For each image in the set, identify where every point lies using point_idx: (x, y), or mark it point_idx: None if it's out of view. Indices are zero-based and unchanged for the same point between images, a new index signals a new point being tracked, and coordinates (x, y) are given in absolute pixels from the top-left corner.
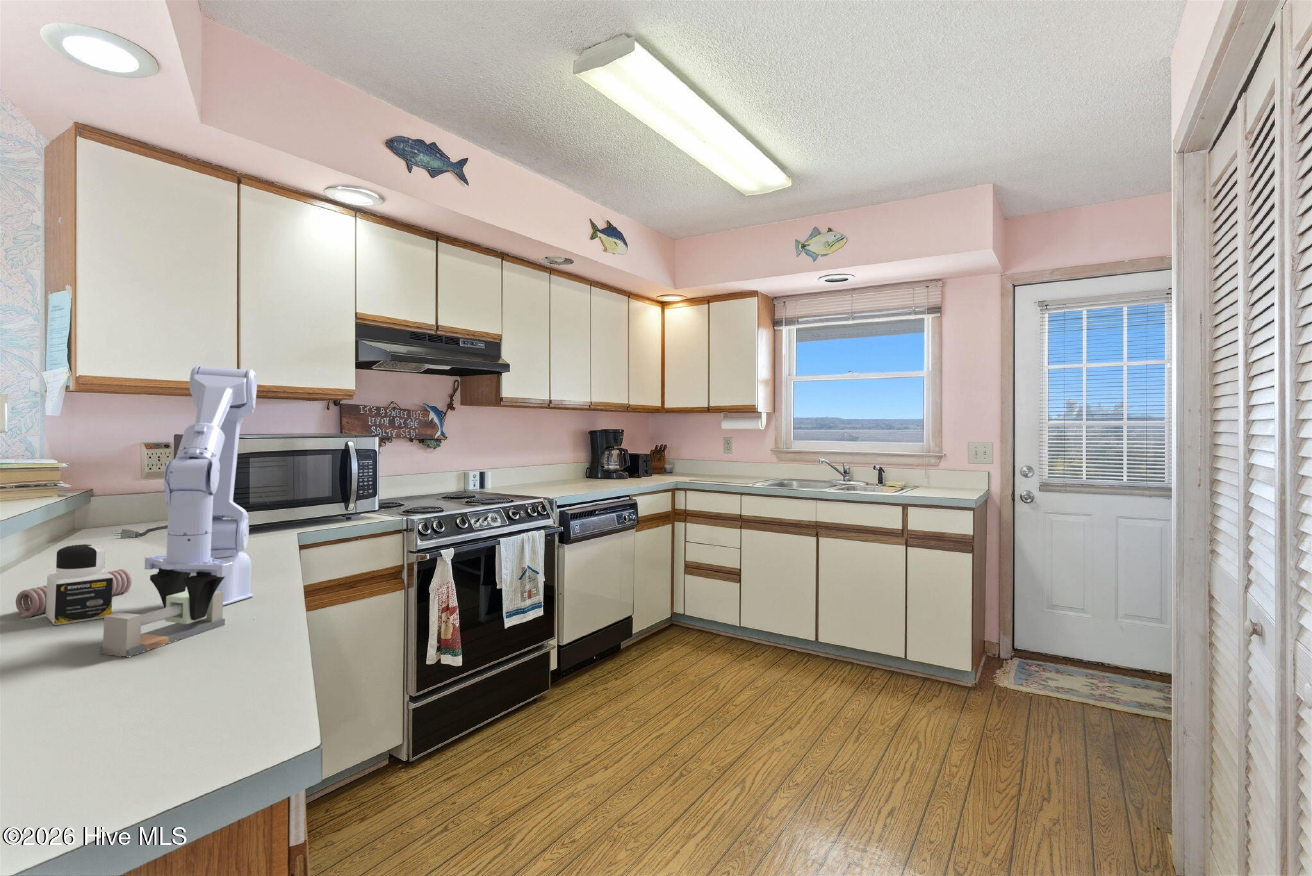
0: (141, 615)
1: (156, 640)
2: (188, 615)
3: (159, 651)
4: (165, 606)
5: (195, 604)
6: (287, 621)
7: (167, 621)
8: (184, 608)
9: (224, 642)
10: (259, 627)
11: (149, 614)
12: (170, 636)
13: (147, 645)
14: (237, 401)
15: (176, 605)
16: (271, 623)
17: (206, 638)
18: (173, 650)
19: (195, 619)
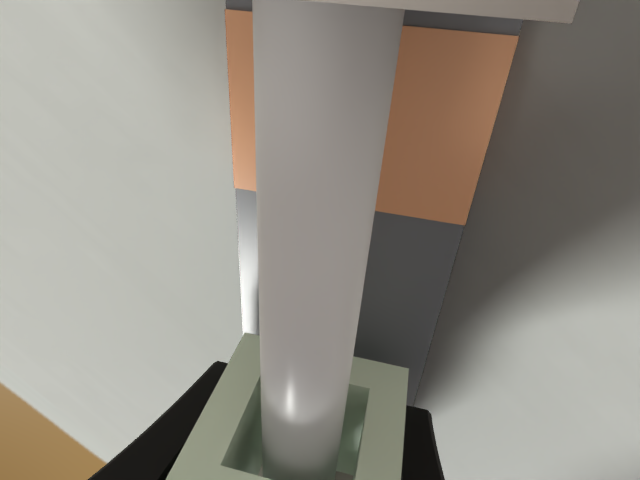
0: (290, 164)
1: (241, 111)
2: (222, 379)
3: (182, 39)
4: (424, 477)
5: (130, 444)
6: (99, 442)
7: (389, 365)
8: (226, 423)
9: (47, 230)
10: (116, 393)
11: (267, 230)
12: (242, 204)
13: (229, 20)
14: None
15: (282, 453)
16: (123, 427)
17: (165, 271)
18: (130, 76)
19: (211, 366)
